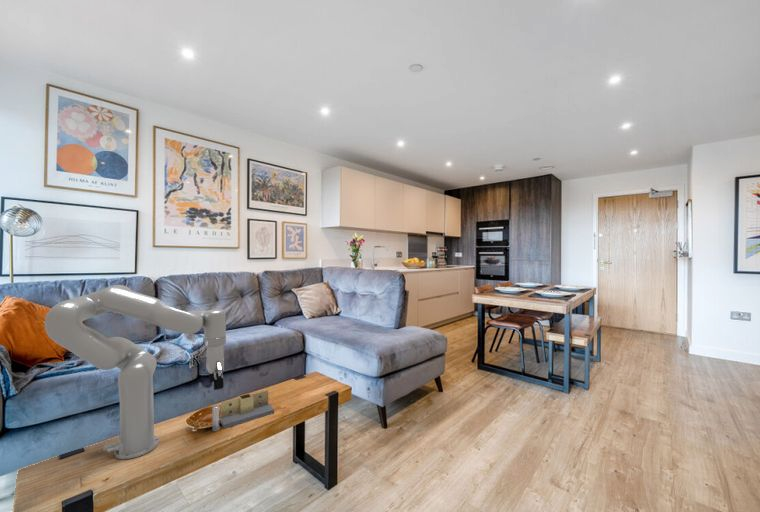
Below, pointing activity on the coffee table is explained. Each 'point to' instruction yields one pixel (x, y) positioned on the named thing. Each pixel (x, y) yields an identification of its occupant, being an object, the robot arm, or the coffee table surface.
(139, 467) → the coffee table surface
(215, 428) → the hinge pin
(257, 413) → the base plate
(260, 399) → the hinge
